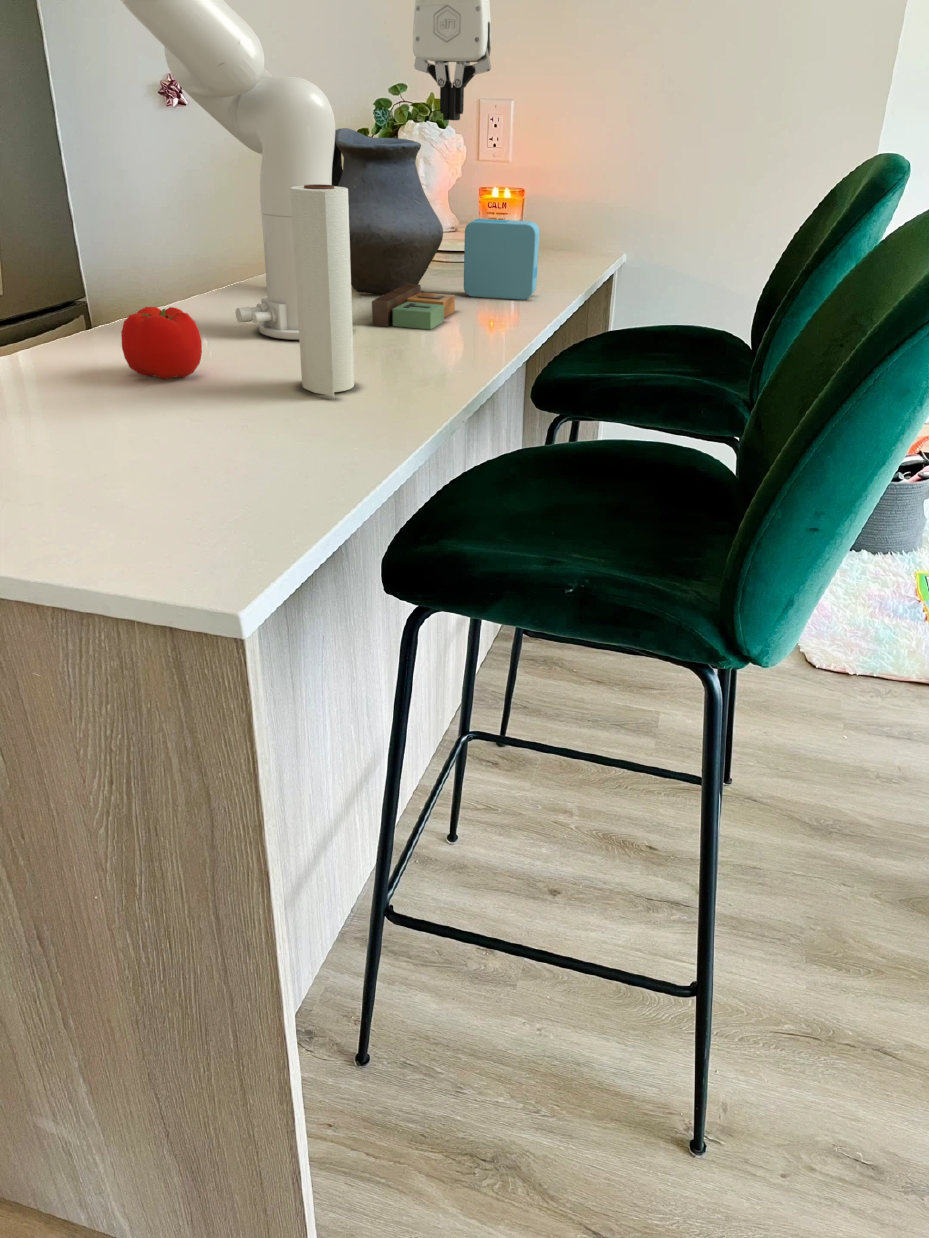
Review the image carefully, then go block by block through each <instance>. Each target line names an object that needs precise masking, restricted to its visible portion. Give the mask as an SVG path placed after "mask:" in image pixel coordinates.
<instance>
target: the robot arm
mask: <svg viewBox="0 0 929 1238" xmlns="http://www.w3.org/2000/svg"><path fill="white" fill-rule="evenodd" d="M120 1H121V2H122V4H123V5H124V7H126V9H127V10H128V11H129V12H130V13H131V14H132V15H133V16H134V17H135V18H136V20H138V21H139V22H140V23H141V24H142V25H143V26H144V27H145V28H146V29H147V30H148V31H149V32H150V34H151V35H153V37H154V38H155V39H156V40H157V41H158V42H160V43H161V44H162V46H164V56H165V61H166V64H167V67H168V69H169V71H170V74H171V75H172V77H173V78H174V80H175V81H176V83H177V84H178V85H179V86H180V88H181V89H182V91H184V92H185V93H186V94H187V95H188V96H189V97H190V98H191V99H192V100H193V101H194V102H195V103H197V104H198V105H199V106H200V107H201V108H202V109H203V110H204V111H205V112H207V113H208V114H209V115H210V116H211V117H212V118H213V119H214V120H215V121H216V122H217V123H218V124H220V125H221V127H223V128H224V129H225V130H227V132H228V133H230V135H232V136H233V137H234V138H235V139H236V140H238V141H239V142H240V143H241V144H243V145H244V146H245V147H247V149H250V150H251V151H253V152H254V153H257V154H260V155H261V163H260V176H259V201H260V202H259V203H260V213H261V224H262V225H261V226H262V237H263V251H264V252H263V254H264V266H265V279H266V281H265V282H266V289H267V290H266V292H267V297H261V298H260V303H257V304H256V306H253V307H250V306H245V307H238V308H236V309H235V312H234V313H235V319H236V321H237V322H238V323H239V324H240V323H249V322H253V323H254V324H258V331H259V332H260V334H262V335H264V336H265V337H270V338H274V339H281V340H293V341H299V324H298V307H297V290H296V274H295V257H294V240H293V223H292V206H291V189H290V188H291V187H295V186H304V185H312V184H321V185H332V163H333V154H334V144H335V130H336V121H335V120H336V119H335V114H334V111H333V107H332V105H331V103H330V101H329V99H328V97H327V96H326V94H325V92H323V90H322V89H320V87H318V85H316V84H315V83H313V82H311V81H309V80H307V79H306V78H303V77H298V76H292V75H291V76H290V75H285V76H284V75H282V76H281V75H280V76H273V75H272V74H271V73H270V72H269V71H268V70H267V69H266V68H265V63H266V62H265V61H266V60H265V52H264V49H263V45H262V43H261V40H260V39H259V37H258V36H257V34H256V32H255V30H254V29H253V28H252V27H251V26H250V24H248V22H247V21H245V20H244V19H243V18H242V17H241V15H240V14H238V13H237V12H236V11H235V10H234V9H233V8H231V6H230V5H229V4H228V3H227V2H226V1H225V0H120ZM490 1H491V0H415V3H414V11H413V26H412V51H413V56H414V57H415V59H414V65H413V67H414V69H415V70H416V71H419V72H423V73H426V74H428V75H430V76H431V77H432V79H433V80H434V81H435V83H436V85H437V86H438V87H439V112H440V114H442V119H443V121H460V120H461V115H463V114H464V104H465V103H464V102H465V101H464V99H465V98H464V97H465V88H466V87H467V85H468V84H469V82H470V81H472V79H474V77H475V76H476V75H477V76H478V75H480V74H484V73H488V72H490V71H491V69H492V64H491V59H490V56H491V49H492V20H491V19H492V18H491V2H490ZM429 61H430V62H429ZM431 62H434V63H431ZM450 63H455V68H454V69H455V70H454V75H453V82H452V81H451V72H450V71H451V70H450ZM471 63H473V64H471Z"/></svg>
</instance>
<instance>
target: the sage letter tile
mask: <svg viewBox="0 0 929 1238" xmlns="http://www.w3.org/2000/svg"><path fill="white" fill-rule="evenodd" d="M443 323H445V318H444V305H438V304H426V303H415V302H406V303H404V304H402V305H400V306H397V307H395V308H393V324H392V327H399V328H409V329H421V330H430V331H431V330H432V329H434V328H435V327H437V326H439V325H441V324H443Z"/></svg>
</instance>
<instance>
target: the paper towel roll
mask: <svg viewBox="0 0 929 1238" xmlns="http://www.w3.org/2000/svg"><path fill="white" fill-rule="evenodd" d="M290 189H291V206H292V223H293V240H294V257H295V274H296V290H297V307H298V324H299V340H298V341H299V356H300V374H301V375H300V376H301V385H302V388H303V389H305V390H307V391H310V392H312V393H314V394H319V395H325V396H329V397H332V398H335V397H336V396H335V393H339V392H345V391H348V390H351V389H352V388H353V387H354V386H355V366H354V365H355V364H354V363H355V361H354V336H353V335H354V333H353V331H354V330H353V301H352V298H353V297H352V285H351V267H350V236H349V205H348V189H347V188H345V187H336V186H333V185H321V184H312V185H304V186H295V187H291V188H290Z"/></svg>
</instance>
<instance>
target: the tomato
mask: <svg viewBox="0 0 929 1238" xmlns="http://www.w3.org/2000/svg"><path fill="white" fill-rule="evenodd" d="M120 332H121V336H120V337H121V349H122V352H123V357H124V359H125V361H126V363H127V365H128V366H129V368H130V369H131V370H132V371H134V373H137V374H140V375H142V376H146V377H156V378H159V379H161V380H169V379H172V378H180V379H181V378H182V379H183V378H185V377H188V376H190V375H192V374H193V373H194V372H195V371H196V369H197V368H198V367H199V365H200V363H201V359H202V353H203V350H202V349H203V343H202V337H201V332H200V330H199V327H198V325H197V323H196V321H195V320H194V319H193V318H192V317H191V315H189V313H187V312H184V311H183V310H182V309H180V308H177V307H172V306H169V307H167V308H163V309H160V308H159V307H157V306H144V307H143V308H141V309H139V310H138V311H137V312H135V313H133V314H129V315H128V317H127V318H126V319H125V320H124V321H123V324H122V328H121V331H120Z"/></svg>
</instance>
